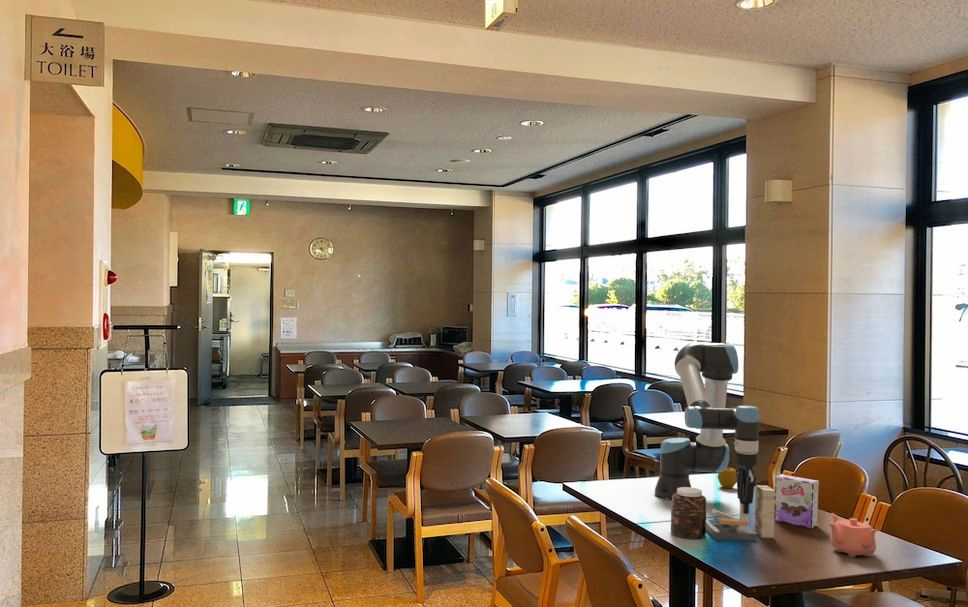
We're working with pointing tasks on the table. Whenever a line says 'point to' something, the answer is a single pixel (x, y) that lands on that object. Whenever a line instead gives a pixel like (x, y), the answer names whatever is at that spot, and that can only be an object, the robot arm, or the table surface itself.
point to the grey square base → (730, 531)
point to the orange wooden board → (732, 522)
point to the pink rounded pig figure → (852, 537)
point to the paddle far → (722, 514)
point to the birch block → (764, 511)
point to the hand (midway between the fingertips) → (744, 522)
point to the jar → (688, 513)
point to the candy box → (796, 501)
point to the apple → (727, 478)
